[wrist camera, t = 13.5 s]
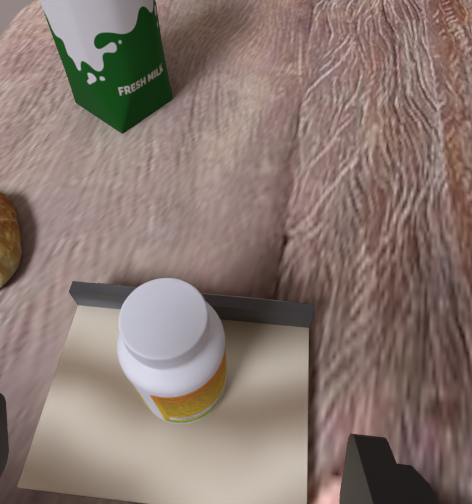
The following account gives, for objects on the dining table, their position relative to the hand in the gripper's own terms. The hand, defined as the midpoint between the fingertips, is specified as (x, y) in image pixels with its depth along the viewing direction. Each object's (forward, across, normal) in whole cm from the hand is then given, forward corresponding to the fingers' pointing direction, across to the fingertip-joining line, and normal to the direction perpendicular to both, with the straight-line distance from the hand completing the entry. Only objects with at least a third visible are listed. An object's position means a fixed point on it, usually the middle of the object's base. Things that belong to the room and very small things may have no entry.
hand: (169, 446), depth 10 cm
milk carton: (+37, +14, -11) cm, 41 cm away
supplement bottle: (+16, +2, +8) cm, 18 cm away
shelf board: (+16, +3, +9) cm, 19 cm away
